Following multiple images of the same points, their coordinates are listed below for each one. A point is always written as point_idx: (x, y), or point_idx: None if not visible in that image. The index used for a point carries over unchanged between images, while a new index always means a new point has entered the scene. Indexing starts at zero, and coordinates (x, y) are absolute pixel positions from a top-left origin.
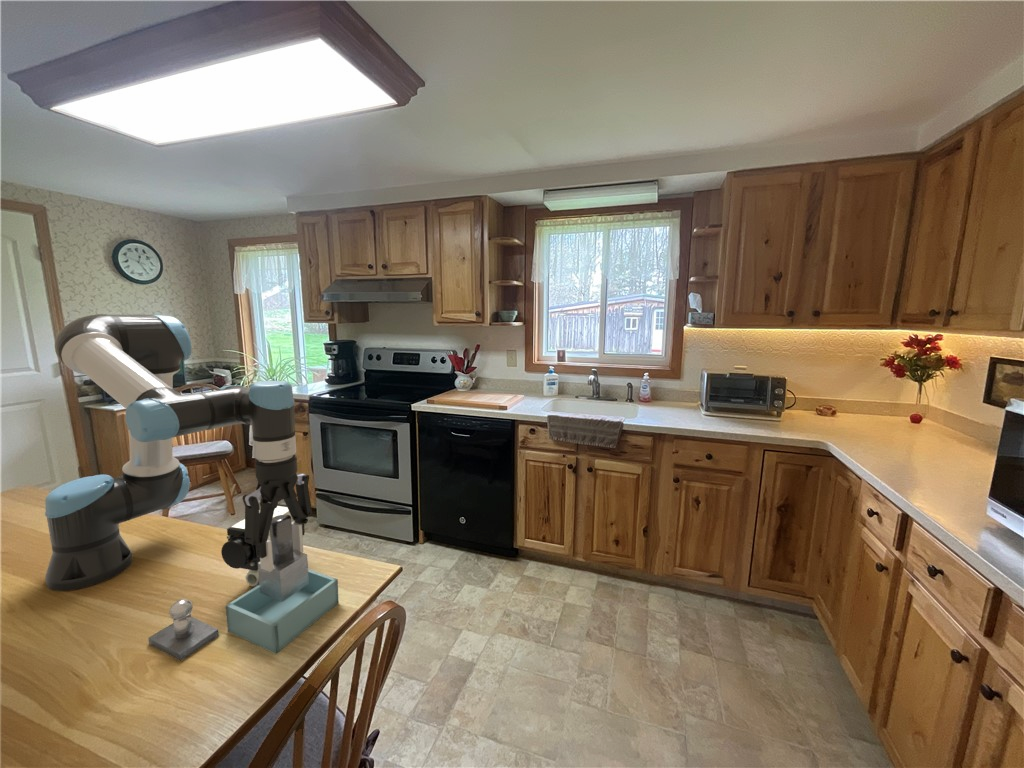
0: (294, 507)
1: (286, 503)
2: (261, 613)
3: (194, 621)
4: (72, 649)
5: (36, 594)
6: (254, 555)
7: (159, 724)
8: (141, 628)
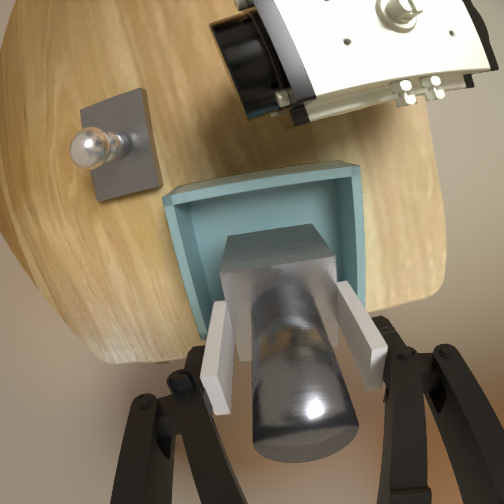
0: (381, 471)
1: (389, 460)
2: (239, 200)
3: (140, 122)
4: (36, 47)
5: None
6: (282, 111)
7: (73, 292)
8: (95, 54)
